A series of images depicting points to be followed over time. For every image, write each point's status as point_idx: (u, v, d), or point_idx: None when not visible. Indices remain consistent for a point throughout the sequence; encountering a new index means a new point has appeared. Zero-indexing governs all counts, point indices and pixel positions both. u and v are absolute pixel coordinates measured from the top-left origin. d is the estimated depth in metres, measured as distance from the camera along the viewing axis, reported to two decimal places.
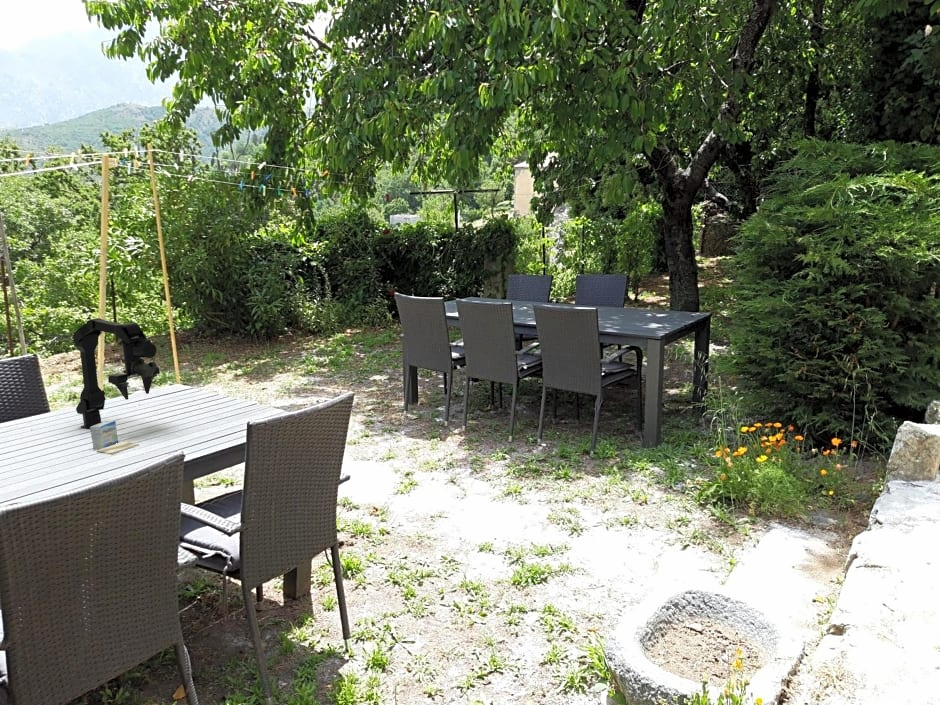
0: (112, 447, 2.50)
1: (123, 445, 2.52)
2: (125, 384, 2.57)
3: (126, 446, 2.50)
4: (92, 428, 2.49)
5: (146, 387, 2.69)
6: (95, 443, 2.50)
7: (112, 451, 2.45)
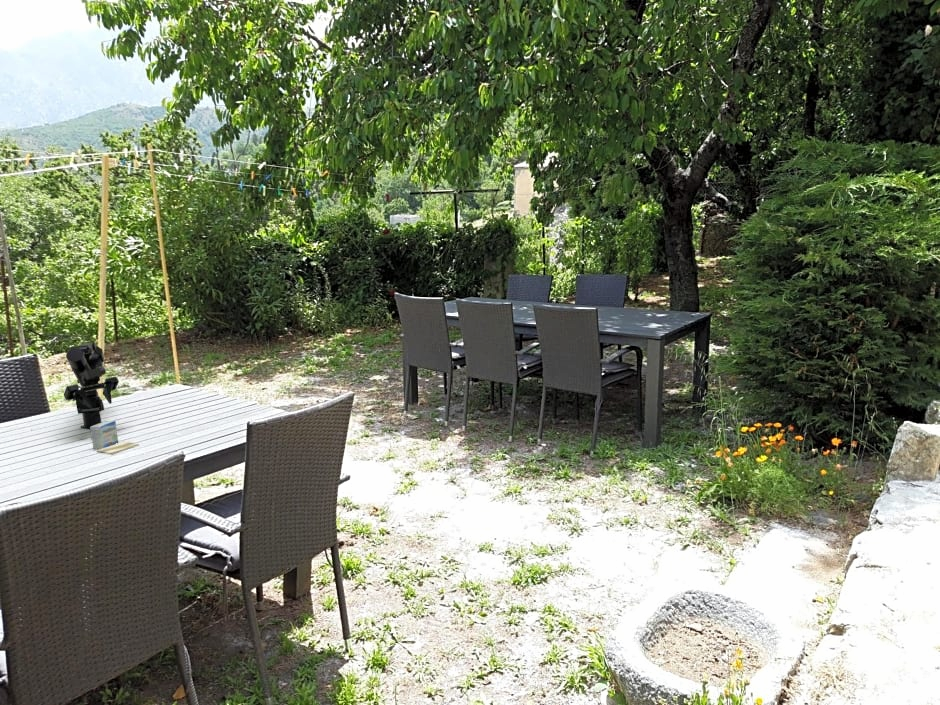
0: (112, 447, 2.50)
1: (123, 445, 2.52)
2: (81, 391, 2.59)
3: (126, 446, 2.50)
4: (92, 428, 2.49)
5: (108, 397, 2.66)
6: (95, 443, 2.50)
7: (112, 451, 2.45)
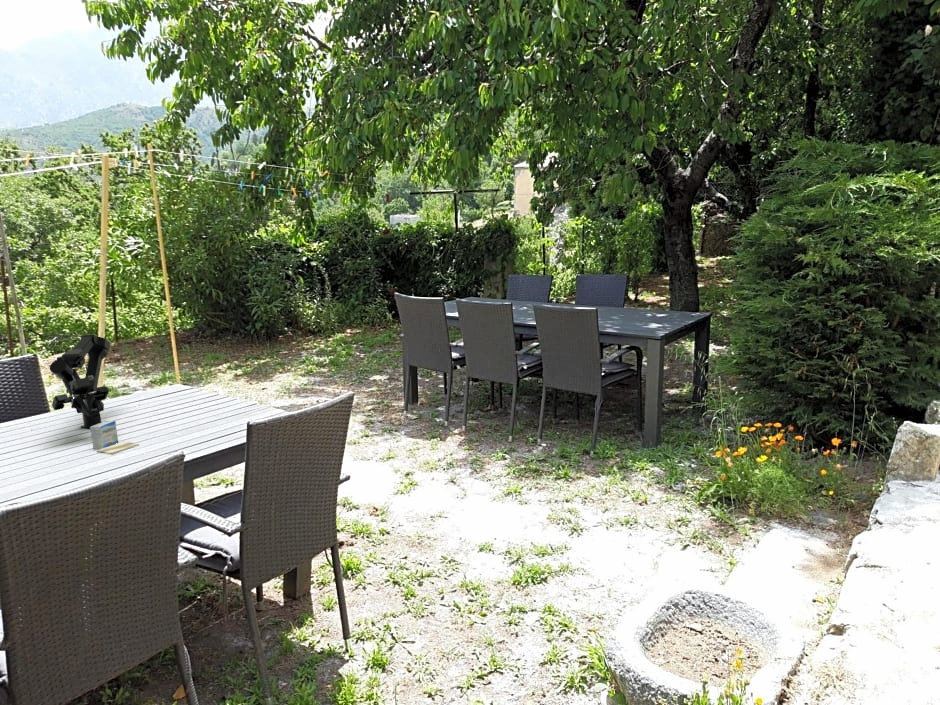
0: (112, 447, 2.50)
1: (123, 445, 2.52)
2: (79, 399, 2.56)
3: (126, 446, 2.50)
4: (92, 428, 2.49)
5: (88, 409, 2.58)
6: (95, 443, 2.50)
7: (112, 451, 2.45)
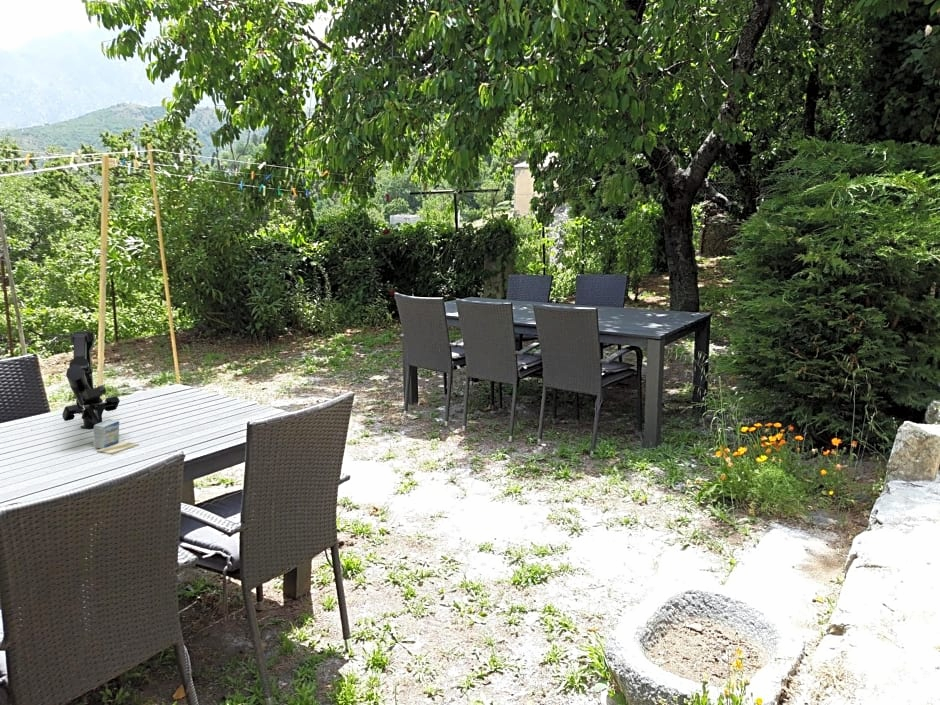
0: (112, 447, 2.50)
1: (123, 445, 2.52)
2: (90, 409, 2.52)
3: (126, 446, 2.50)
4: (96, 427, 2.48)
5: None
6: (96, 442, 2.50)
7: (112, 451, 2.45)
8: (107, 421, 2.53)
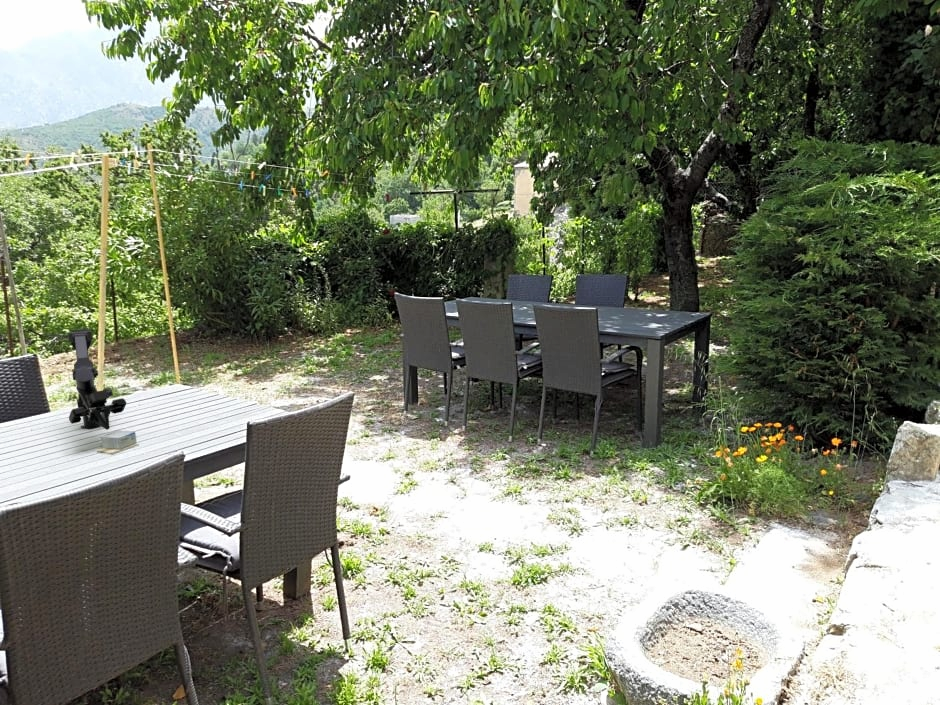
0: None
1: None
2: (96, 412, 2.49)
3: None
4: (117, 440, 2.46)
5: None
6: (104, 440, 2.48)
7: (112, 451, 2.45)
8: (130, 437, 2.51)
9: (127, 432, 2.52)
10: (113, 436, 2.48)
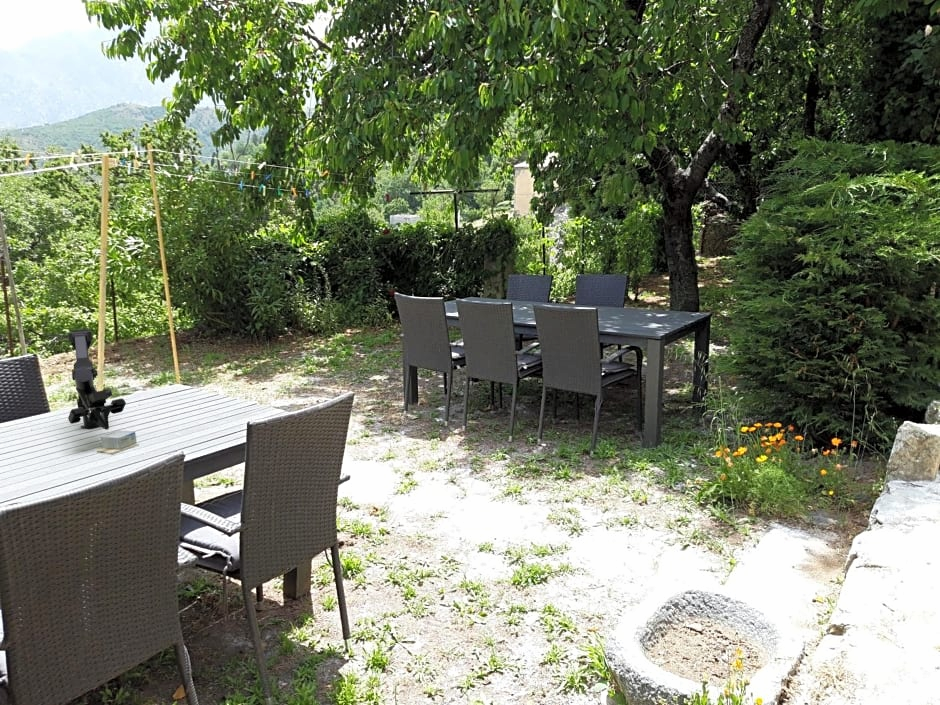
0: None
1: None
2: (96, 412, 2.50)
3: None
4: (117, 440, 2.46)
5: None
6: (104, 440, 2.48)
7: (112, 451, 2.45)
8: (130, 437, 2.51)
9: (127, 432, 2.52)
10: (113, 436, 2.48)
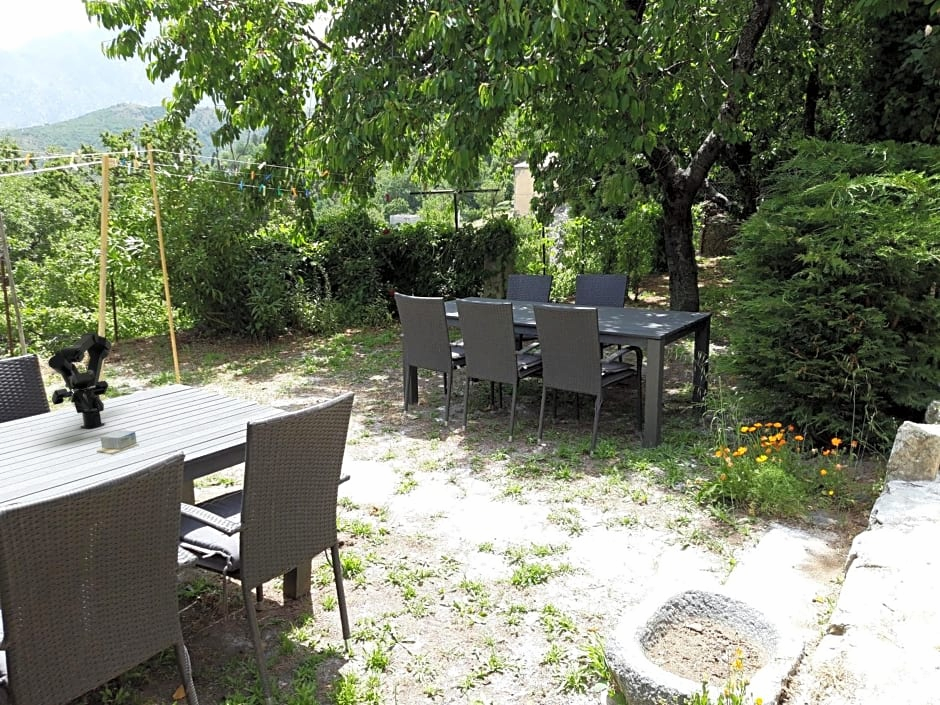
0: None
1: None
2: (79, 393, 2.56)
3: None
4: (117, 440, 2.46)
5: None
6: (104, 440, 2.48)
7: (112, 451, 2.45)
8: (130, 437, 2.51)
9: (127, 432, 2.52)
10: (113, 436, 2.48)
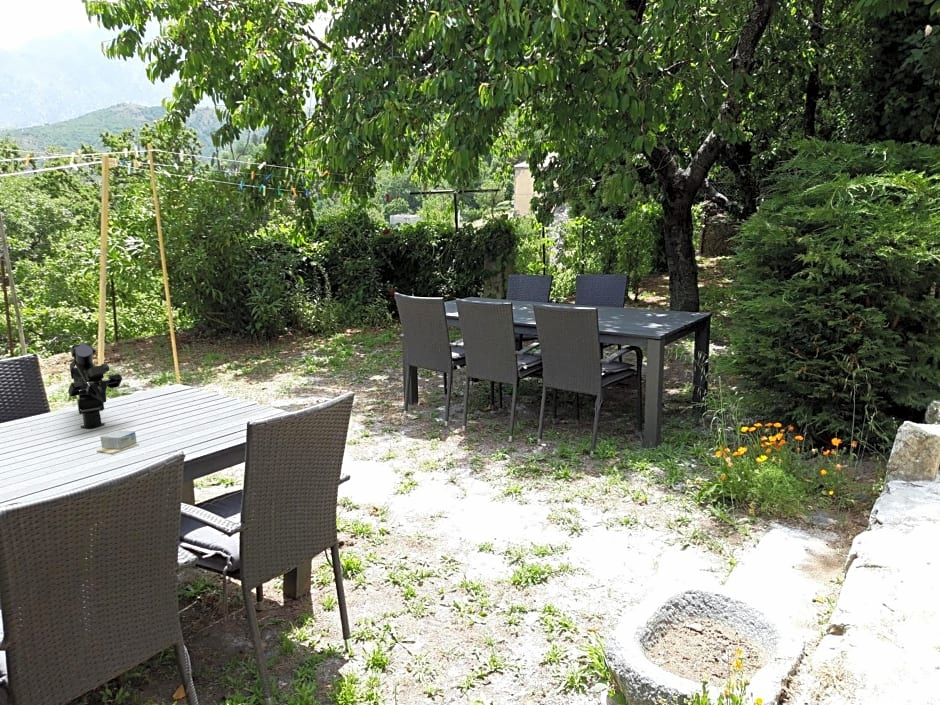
0: None
1: None
2: (94, 386, 2.66)
3: None
4: (117, 440, 2.46)
5: None
6: (104, 440, 2.48)
7: (112, 451, 2.45)
8: (130, 437, 2.51)
9: (127, 432, 2.52)
10: (113, 436, 2.48)
